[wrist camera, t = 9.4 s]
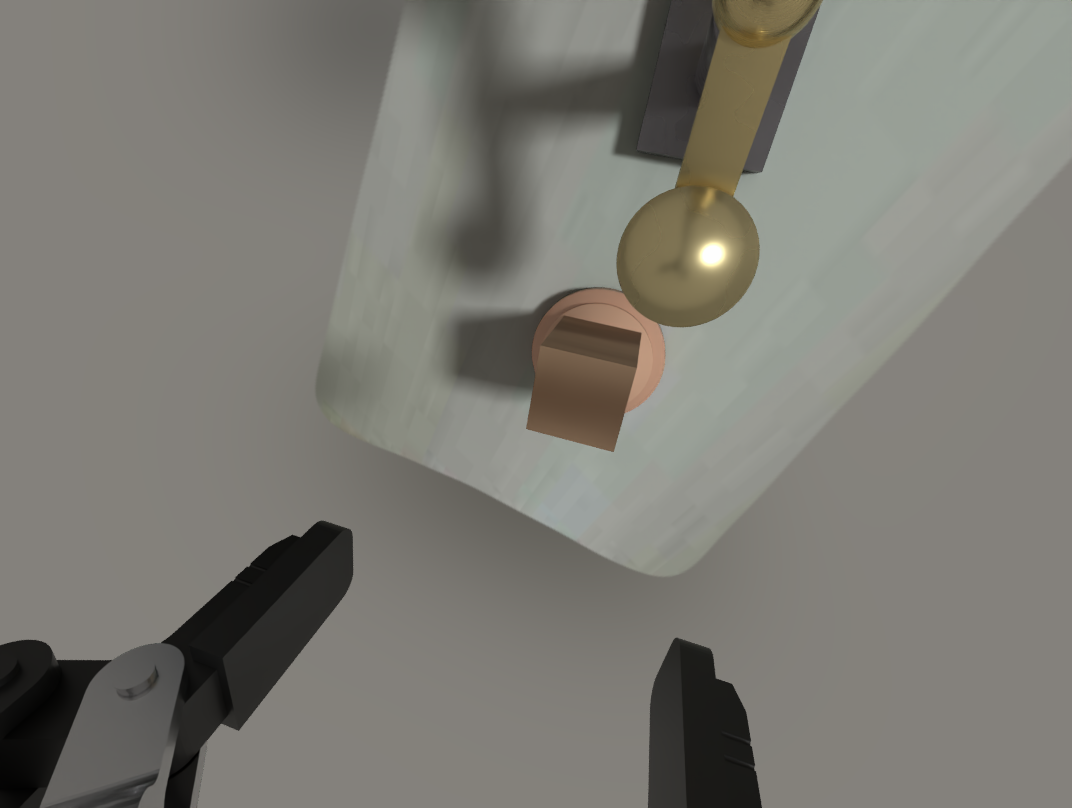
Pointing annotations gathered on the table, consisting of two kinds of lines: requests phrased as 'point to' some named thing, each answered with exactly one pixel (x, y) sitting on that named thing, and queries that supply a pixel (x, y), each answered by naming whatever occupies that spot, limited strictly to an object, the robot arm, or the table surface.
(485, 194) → the table surface
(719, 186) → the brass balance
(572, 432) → the walnut block
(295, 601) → the robot arm
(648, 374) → the terracotta dish
